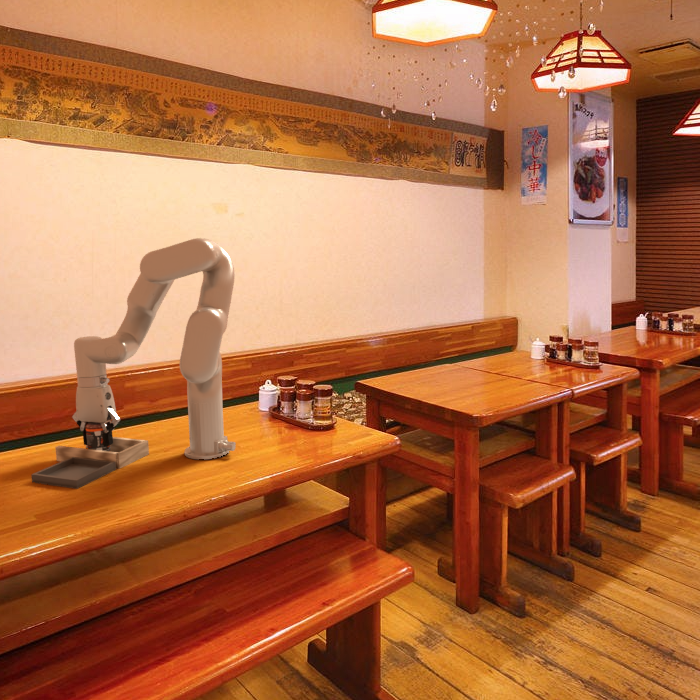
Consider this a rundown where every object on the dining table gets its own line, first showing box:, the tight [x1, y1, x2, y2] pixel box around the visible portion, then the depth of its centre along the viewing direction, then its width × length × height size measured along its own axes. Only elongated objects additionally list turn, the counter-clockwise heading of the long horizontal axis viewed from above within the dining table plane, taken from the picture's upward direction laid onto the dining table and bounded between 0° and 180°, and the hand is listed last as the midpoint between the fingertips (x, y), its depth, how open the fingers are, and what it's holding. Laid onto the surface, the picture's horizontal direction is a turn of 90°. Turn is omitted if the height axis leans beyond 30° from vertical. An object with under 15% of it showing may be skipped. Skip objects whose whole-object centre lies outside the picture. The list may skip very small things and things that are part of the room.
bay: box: [55, 436, 150, 469], centre depth 172 cm, size 21×12×4 cm, turn 71°
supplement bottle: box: [86, 422, 111, 452], centre depth 172 cm, size 6×6×11 cm
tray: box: [31, 457, 117, 489], centre depth 158 cm, size 14×14×2 cm
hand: (98, 443), depth 173 cm, fingers closed on supplement bottle, 6 cm apart
